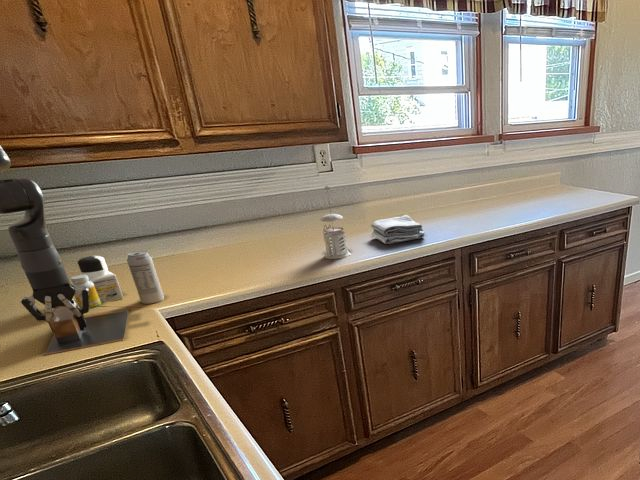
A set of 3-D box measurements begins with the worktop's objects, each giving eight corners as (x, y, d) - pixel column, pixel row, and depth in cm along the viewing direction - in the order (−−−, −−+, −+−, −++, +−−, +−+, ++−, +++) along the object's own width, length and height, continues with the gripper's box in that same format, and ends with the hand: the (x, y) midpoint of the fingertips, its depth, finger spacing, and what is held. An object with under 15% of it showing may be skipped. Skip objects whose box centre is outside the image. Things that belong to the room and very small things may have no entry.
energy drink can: (168, 298, 156) (152, 249, 149) (160, 305, 151) (144, 255, 144) (147, 300, 155) (130, 251, 149) (138, 307, 150) (120, 256, 143)
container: (95, 305, 152) (78, 262, 146) (86, 300, 156) (70, 258, 151) (124, 298, 157) (109, 256, 151) (115, 293, 162) (100, 252, 156)
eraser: (58, 343, 127) (49, 322, 124) (64, 328, 135) (56, 308, 133) (80, 339, 129) (71, 319, 126) (85, 324, 137) (77, 305, 135)
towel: (371, 238, 216) (368, 219, 213) (410, 232, 225) (409, 213, 221) (385, 246, 205) (383, 226, 201) (426, 238, 213) (425, 219, 210)
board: (45, 358, 121) (43, 355, 121) (61, 324, 140) (59, 321, 140) (124, 343, 128) (123, 339, 127) (129, 312, 147) (128, 309, 146)
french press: (354, 251, 198) (345, 183, 187) (342, 260, 188) (331, 189, 177) (330, 251, 200) (320, 183, 188) (317, 259, 190) (305, 189, 178)
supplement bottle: (76, 312, 148) (62, 280, 143) (86, 305, 153) (73, 274, 148) (96, 310, 149) (83, 278, 144) (105, 303, 153) (93, 272, 149)
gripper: (80, 257, 130) (105, 320, 138) (9, 267, 124) (39, 332, 132) (77, 265, 124) (103, 330, 132) (2, 275, 118) (33, 343, 126)
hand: (71, 331), depth 132 cm, fingers closed on eraser, 4 cm apart
